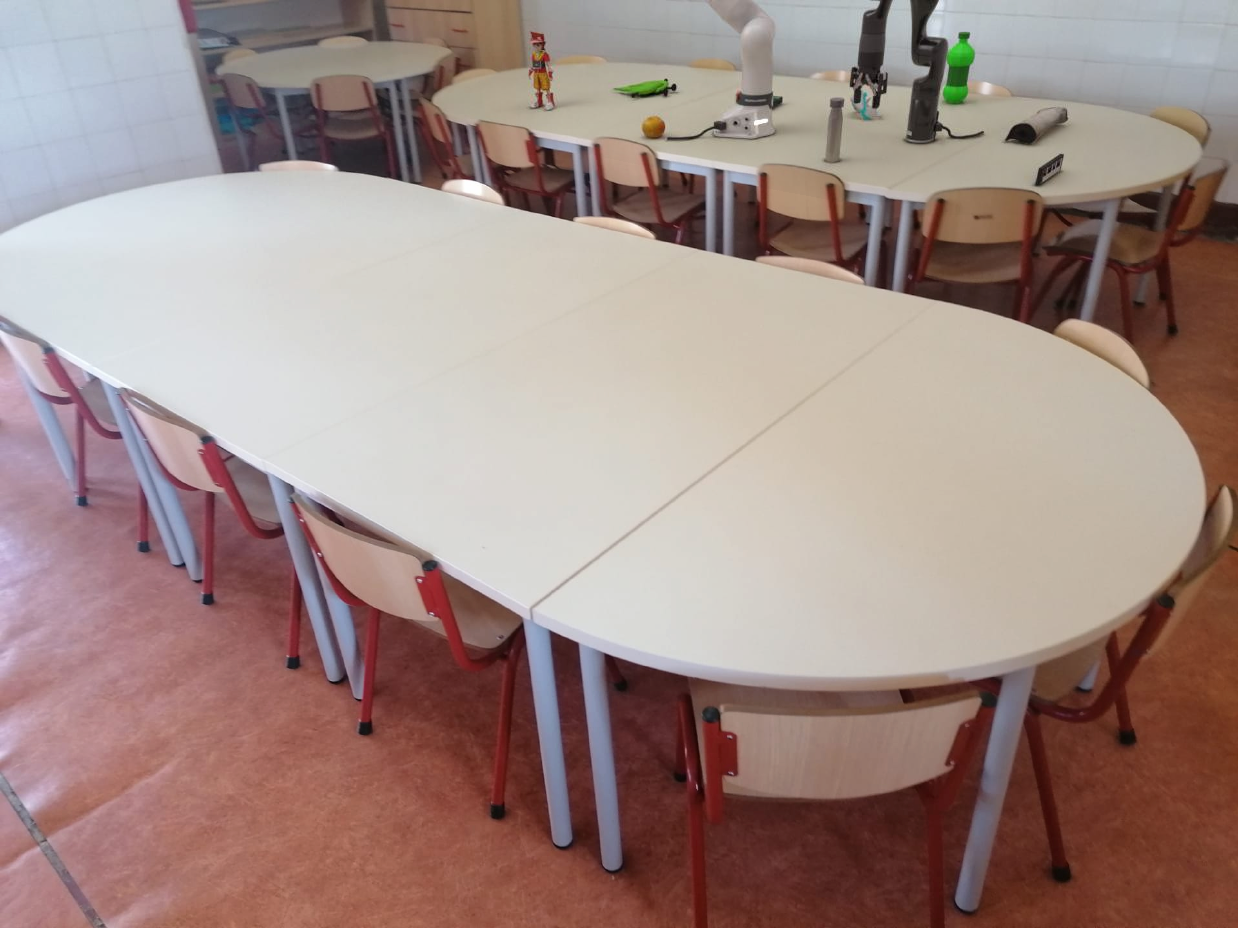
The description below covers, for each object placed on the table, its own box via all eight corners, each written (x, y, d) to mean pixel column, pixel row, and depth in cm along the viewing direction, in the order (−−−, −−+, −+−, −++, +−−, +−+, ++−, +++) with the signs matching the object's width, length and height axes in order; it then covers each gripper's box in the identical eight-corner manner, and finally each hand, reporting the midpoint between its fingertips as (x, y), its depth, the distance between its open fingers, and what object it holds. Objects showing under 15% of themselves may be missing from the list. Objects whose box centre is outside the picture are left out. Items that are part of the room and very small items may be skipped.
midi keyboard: (1039, 185, 269) (1043, 168, 266) (1035, 184, 270) (1038, 168, 267) (1060, 170, 279) (1064, 154, 277) (1056, 169, 280) (1060, 153, 277)
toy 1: (525, 109, 381) (517, 32, 364) (534, 104, 388) (527, 28, 371) (550, 110, 377) (543, 32, 360) (559, 105, 384) (553, 28, 367)
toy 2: (686, 85, 398) (631, 84, 414) (685, 72, 395) (629, 72, 411) (651, 104, 381) (596, 103, 397) (650, 92, 378) (594, 91, 394)
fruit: (635, 129, 332) (646, 109, 329) (642, 132, 340) (653, 113, 337) (653, 141, 331) (664, 122, 328) (660, 144, 339) (671, 125, 336)
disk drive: (768, 112, 357) (782, 103, 367) (768, 105, 355) (783, 96, 365) (744, 110, 362) (759, 101, 372) (744, 103, 360) (759, 94, 370)
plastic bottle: (973, 101, 354) (984, 32, 339) (955, 106, 349) (966, 36, 335) (952, 97, 361) (962, 29, 346) (934, 102, 356) (944, 33, 342)
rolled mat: (1035, 112, 325) (1059, 94, 316) (1049, 133, 325) (1073, 116, 317) (1000, 135, 307) (1025, 117, 299) (1015, 157, 308) (1040, 140, 300)
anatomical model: (845, 88, 346) (871, 81, 345) (848, 116, 352) (873, 109, 351) (857, 98, 334) (883, 90, 333) (859, 126, 340) (885, 119, 339)
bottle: (831, 157, 304) (836, 98, 293) (842, 160, 300) (847, 100, 290) (822, 160, 301) (826, 100, 291) (832, 163, 298) (837, 103, 287)
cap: (836, 104, 294) (836, 96, 292) (846, 106, 291) (847, 99, 289) (826, 106, 292) (827, 99, 290) (837, 109, 289) (837, 101, 287)
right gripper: (897, 50, 264) (891, 108, 273) (865, 44, 274) (860, 99, 283) (877, 54, 261) (871, 112, 270) (846, 47, 272) (841, 103, 281)
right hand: (865, 105), depth 277 cm, fingers open, 8 cm apart
